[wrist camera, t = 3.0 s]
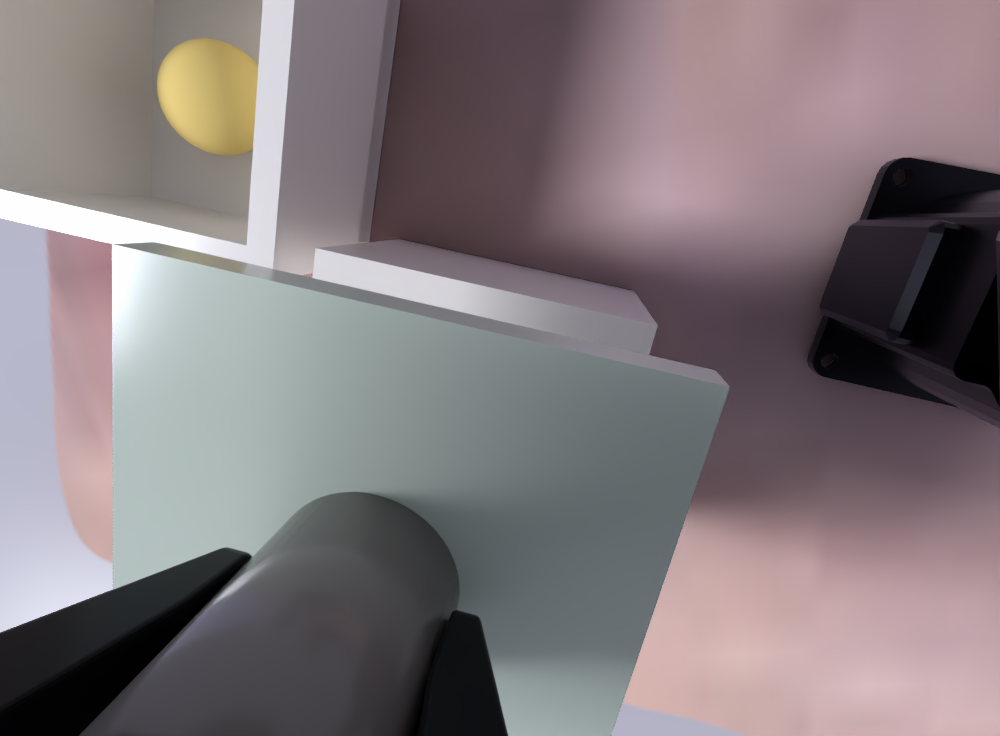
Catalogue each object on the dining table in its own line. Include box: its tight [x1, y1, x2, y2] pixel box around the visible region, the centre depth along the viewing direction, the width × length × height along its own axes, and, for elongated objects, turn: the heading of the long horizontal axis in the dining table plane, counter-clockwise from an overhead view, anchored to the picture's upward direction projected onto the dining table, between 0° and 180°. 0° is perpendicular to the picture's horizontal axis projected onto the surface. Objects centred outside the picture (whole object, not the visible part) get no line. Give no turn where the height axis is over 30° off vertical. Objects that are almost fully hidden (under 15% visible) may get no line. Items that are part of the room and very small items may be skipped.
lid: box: [79, 242, 730, 736], centre depth 7 cm, size 9×9×5 cm
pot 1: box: [0, 0, 401, 275], centre depth 15 cm, size 8×8×6 cm
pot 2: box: [312, 239, 658, 355], centre depth 16 cm, size 8×8×6 cm
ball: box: [157, 38, 258, 156], centre depth 16 cm, size 3×3×3 cm
